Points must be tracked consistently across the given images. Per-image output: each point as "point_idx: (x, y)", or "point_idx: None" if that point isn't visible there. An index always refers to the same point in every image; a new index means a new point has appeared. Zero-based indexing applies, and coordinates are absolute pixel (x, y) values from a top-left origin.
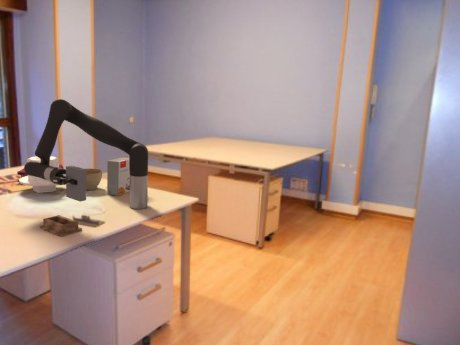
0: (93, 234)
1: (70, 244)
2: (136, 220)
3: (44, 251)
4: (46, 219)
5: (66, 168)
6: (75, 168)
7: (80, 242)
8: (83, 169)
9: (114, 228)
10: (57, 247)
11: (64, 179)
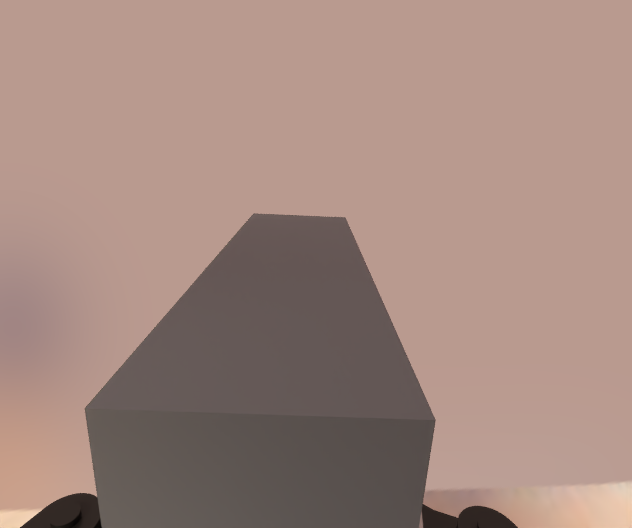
0: None
1: (479, 502)
2: (12, 515)
3: (608, 520)
4: None
5: (408, 458)
6: (333, 245)
7: (431, 490)
8: (285, 216)
9: None
10: (544, 516)
11: (498, 518)
